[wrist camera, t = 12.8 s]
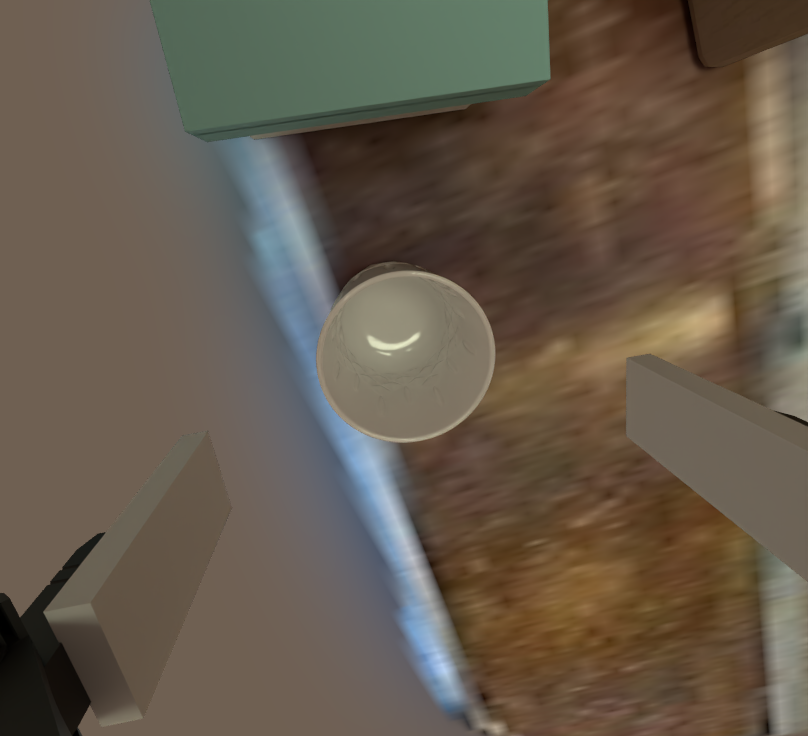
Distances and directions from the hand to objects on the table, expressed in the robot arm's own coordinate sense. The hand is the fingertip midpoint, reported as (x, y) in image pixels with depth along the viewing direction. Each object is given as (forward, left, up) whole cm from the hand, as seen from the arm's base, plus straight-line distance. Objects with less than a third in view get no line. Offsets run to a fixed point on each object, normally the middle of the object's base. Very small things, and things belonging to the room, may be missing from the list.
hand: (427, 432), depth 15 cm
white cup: (0, 0, -17) cm, 17 cm away
